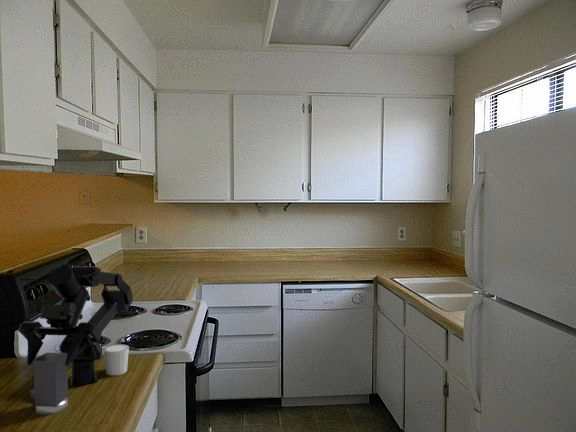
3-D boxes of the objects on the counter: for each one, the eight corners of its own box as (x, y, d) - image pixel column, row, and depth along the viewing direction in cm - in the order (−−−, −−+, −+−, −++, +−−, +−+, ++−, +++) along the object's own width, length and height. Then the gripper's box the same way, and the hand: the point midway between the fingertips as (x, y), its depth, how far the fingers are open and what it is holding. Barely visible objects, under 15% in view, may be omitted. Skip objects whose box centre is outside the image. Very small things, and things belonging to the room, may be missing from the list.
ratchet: (72, 406, 106) (72, 392, 106) (42, 417, 101) (42, 402, 101) (50, 390, 115) (49, 376, 115) (21, 399, 110) (21, 385, 110)
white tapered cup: (111, 366, 131) (111, 343, 131) (133, 367, 130) (133, 344, 130) (99, 375, 124) (98, 351, 124) (122, 377, 124) (121, 352, 123)
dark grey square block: (47, 395, 108) (46, 352, 108) (68, 396, 108) (67, 352, 108) (34, 406, 103) (33, 360, 103) (56, 406, 103) (55, 361, 102)
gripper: (22, 289, 109) (-9, 348, 98) (95, 290, 108) (73, 350, 98) (41, 312, 117) (15, 369, 106) (110, 313, 116) (90, 370, 106)
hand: (47, 364), depth 104 cm, fingers open, 9 cm apart
